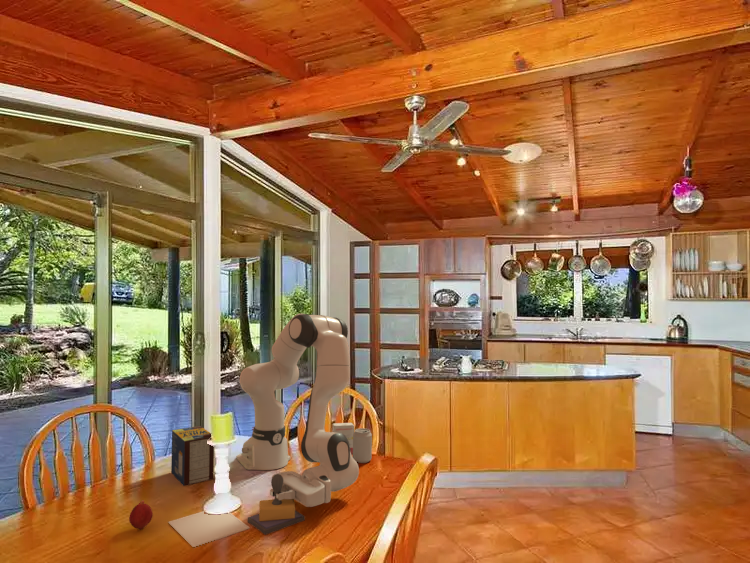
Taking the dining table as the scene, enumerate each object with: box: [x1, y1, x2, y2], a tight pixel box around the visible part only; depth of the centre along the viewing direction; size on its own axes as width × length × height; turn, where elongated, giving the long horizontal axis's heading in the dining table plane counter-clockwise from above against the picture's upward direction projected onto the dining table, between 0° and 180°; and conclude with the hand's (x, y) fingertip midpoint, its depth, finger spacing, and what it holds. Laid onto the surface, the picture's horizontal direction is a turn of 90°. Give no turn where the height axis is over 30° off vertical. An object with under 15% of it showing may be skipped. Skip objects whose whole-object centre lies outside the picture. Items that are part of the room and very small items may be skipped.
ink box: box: [331, 422, 355, 455], centre depth 202 cm, size 9×5×12 cm, turn 104°
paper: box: [167, 510, 250, 548], centre depth 139 cm, size 18×16×1 cm
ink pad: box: [247, 509, 306, 536], centre depth 142 cm, size 10×13×2 cm
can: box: [352, 427, 373, 464], centre depth 193 cm, size 8×8×12 cm
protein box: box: [170, 425, 215, 487], centre depth 175 cm, size 10×15×16 cm
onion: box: [129, 500, 154, 531], centre depth 136 cm, size 6×6×8 cm
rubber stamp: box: [258, 473, 296, 521], centre depth 142 cm, size 10×6×12 cm, turn 103°
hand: (274, 495), depth 142 cm, fingers closed on rubber stamp, 2 cm apart
